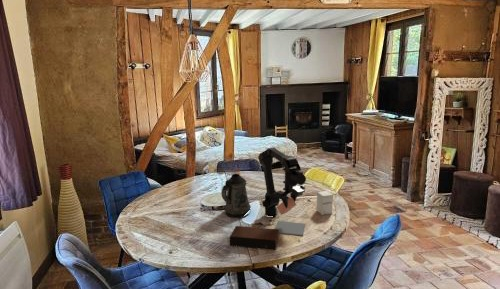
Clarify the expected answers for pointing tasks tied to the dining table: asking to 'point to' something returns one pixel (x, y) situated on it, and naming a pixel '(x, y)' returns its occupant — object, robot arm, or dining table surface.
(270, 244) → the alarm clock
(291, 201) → the brick-red block
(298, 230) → the rubber mat
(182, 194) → the dining table surface
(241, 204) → the beer stein
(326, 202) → the supplement box
